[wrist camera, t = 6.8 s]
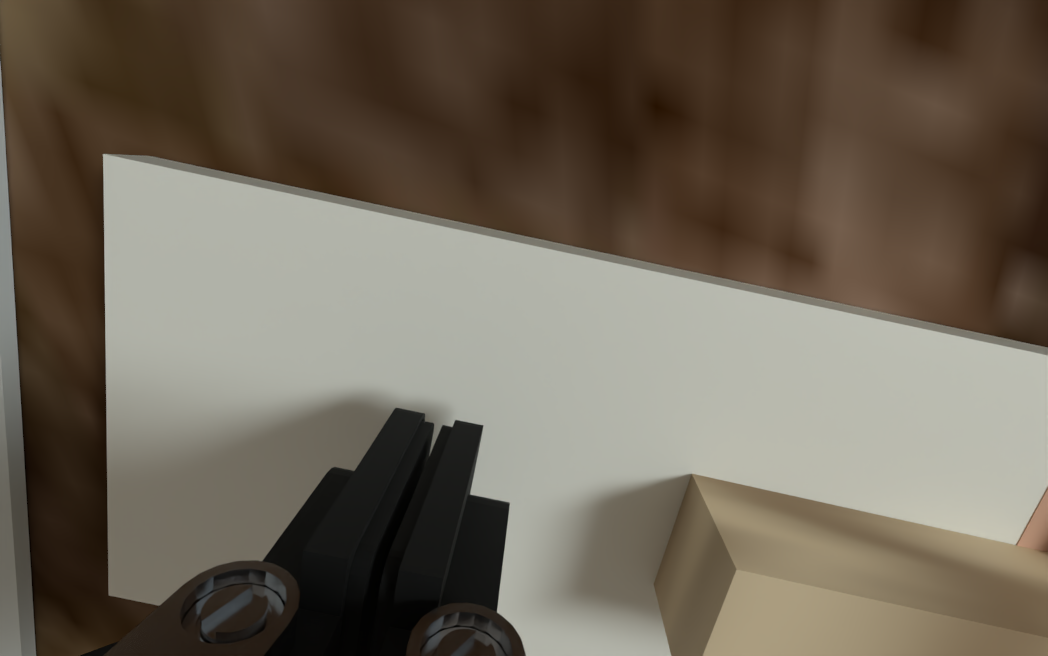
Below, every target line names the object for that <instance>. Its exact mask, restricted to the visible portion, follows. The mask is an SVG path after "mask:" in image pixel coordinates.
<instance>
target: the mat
mask: <svg viewBox="0 0 1048 656" xmlns="http://www.w3.org/2000/svg"><path fill="white" fill-rule="evenodd" d="M0 656H36V645H35V629H34V612H33V595H32V579H31V562H30V545H29V529H28V512H27V496H26V479H25V462H24V446H23V429H22V412H21V396H20V379H19V363H18V346H17V329H16V313H15V296H14V279H13V263H12V246H11V230H10V213H9V196H8V180H7V163H6V146H5V130H4V113H3V97H2V80H1V63H0Z"/></svg>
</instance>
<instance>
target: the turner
mask: <svg viewBox="0 0 1048 656" xmlns="http://www.w3.org/2000/svg"><path fill="white" fill-rule="evenodd" d="M654 588H655V592H656V596H657V600H658V604H659V608H660V612H661V616H662V620H663V624H664V628H665V632H666V636H667V640H668V644H669V649H670V653H671V656H1048V552H1044V551H1040V550H1035V549H1031V548H1026V547H1022V546H1017V545H1013V544H1008V543H1004V542H999V541H994V540H990V539H985V538H981V537H976V536H972V535H967V534H963V533H958V532H954V531H949V530H945V529H940V528H936V527H931V526H927V525H922V524H918V523H913V522H909V521H904V520H900V519H895V518H891V517H886V516H882V515H877V514H873V513H868V512H863V511H859V510H854V509H850V508H845V507H841V506H836V505H832V504H827V503H823V502H818V501H814V500H809V499H805V498H800V497H796V496H791V495H787V494H782V493H778V492H773V491H769V490H764V489H760V488H755V487H751V486H746V485H741V484H737V483H732V482H728V481H723V480H719V479H714V478H710V477H705V476H701V475H696V474H691V477H690V480H689V483H688V486H687V489H686V492H685V495H684V498H683V500H682V503H681V506H680V509H679V512H678V515H677V518H676V521H675V524H674V526H673V529H672V532H671V535H670V538H669V541H668V544H667V547H666V550H665V553H664V555H663V558H662V561H661V564H660V567H659V570H658V573H657V576H656V579H655V582H654Z"/></svg>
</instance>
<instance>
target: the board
mask: <svg viewBox="0 0 1048 656" xmlns="http://www.w3.org/2000/svg"><path fill="white" fill-rule="evenodd" d="M103 175H104V258H105V342H106V425H107V509H108V592H109V596H114V597H119V598H124V599H129V600H134V601H139V602H144V603H148V604H153V605H158V606H160V605H161V604H162V603H163V602H164V601H165V600H167V599H168V598H169V597H170V596H171V595H172V594H173V593H174V592H176V591H177V590H178V589H179V588H180V587H181V586H182V585H184V584H185V583H186V582H188V581H189V580H191V579H192V578H194V577H195V576H196V575H198V574H199V573H202V572H204V571H206V570H208V569H211V568H213V567H215V566H218V565H222V564H226V563H230V562H235V561H250V560H258V561H263V559H264V558H265V556H266V555H267V554H268V552H269V551H270V550H271V548H272V547H273V546H274V544H275V543H276V541H277V540H278V539H279V537H280V536H281V535H282V533H283V532H284V531H285V529H286V528H287V526H288V525H289V524H290V522H291V521H292V520H293V518H294V517H295V516H296V514H297V513H298V511H299V510H300V509H301V507H302V506H303V505H304V503H305V502H306V501H307V499H308V498H309V496H310V495H311V494H312V492H313V491H314V490H315V488H316V487H317V485H318V484H319V483H320V481H321V480H322V479H323V477H324V476H325V475H326V473H327V472H328V471H329V470H330V469H331V468H332V467H338V468H343V469H348V470H353V471H355V469H356V468H357V466H358V465H359V463H360V462H361V460H362V458H363V457H364V455H365V454H366V452H367V451H368V449H369V448H370V446H371V445H372V443H373V441H374V440H375V438H376V437H377V435H378V434H379V432H380V431H381V429H382V428H383V426H384V424H385V423H386V421H387V420H388V418H389V417H390V415H391V414H392V412H393V410H394V409H395V408H401V409H406V410H411V411H416V412H420V413H425V421H426V422H431V423H434V431H433V437H432V443H431V449H430V453H431V451H432V449H433V446H434V444H435V441H436V439H437V437H438V434H439V432H440V430H441V427H442V425H446V426H451V427H453V424H454V422H455V420H459V421H464V422H469V423H474V424H479V425H484V426H483V432H482V437H481V442H480V447H479V452H478V457H477V462H476V467H475V472H474V477H473V482H472V487H471V492H470V495H475V496H480V497H485V498H490V499H495V500H500V501H505V502H509V503H510V506H509V516H508V524H507V532H506V540H505V549H504V557H503V565H502V574H501V582H500V590H499V599H498V607H497V613H499V614H500V615H501V616H503V617H504V618H505V619H506V620H507V621H508V622H510V623H511V624H512V625H513V627H514V628H515V630H516V631H517V633H518V634H519V636H520V637H521V640H522V643H523V647H524V650H525V654H526V656H671V653H670V649H669V644H668V640H667V636H666V632H665V628H664V624H663V620H662V616H661V612H660V608H659V604H658V600H657V596H656V592H655V588H654V582H655V579H656V576H657V573H658V570H659V567H660V564H661V561H662V558H663V555H664V553H665V550H666V547H667V544H668V541H669V538H670V535H671V532H672V529H673V526H674V524H675V521H676V518H677V515H678V512H679V509H680V506H681V503H682V500H683V498H684V495H685V492H686V489H687V486H688V483H689V480H690V477H691V474H696V475H701V476H705V477H710V478H714V479H719V480H723V481H728V482H732V483H737V484H741V485H746V486H751V487H755V488H760V489H764V490H769V491H773V492H778V493H782V494H787V495H791V496H796V497H800V498H805V499H809V500H814V501H818V502H823V503H827V504H832V505H836V506H841V507H845V508H850V509H854V510H859V511H863V512H868V513H873V514H877V515H882V516H886V517H891V518H895V519H900V520H904V521H909V522H913V523H918V524H922V525H927V526H931V527H936V528H940V529H945V530H949V531H954V532H958V533H963V534H967V535H972V536H976V537H981V538H985V539H990V540H994V541H999V542H1004V543H1008V544H1013V545H1017V546H1022V547H1026V548H1031V549H1035V550H1040V551H1044V552H1048V348H1047V347H1042V346H1038V345H1033V344H1028V343H1023V342H1019V341H1014V340H1009V339H1005V338H1000V337H995V336H991V335H986V334H981V333H977V332H972V331H967V330H963V329H958V328H953V327H949V326H944V325H939V324H934V323H930V322H925V321H920V320H916V319H911V318H906V317H902V316H897V315H892V314H888V313H883V312H878V311H874V310H869V309H864V308H860V307H855V306H850V305H845V304H841V303H836V302H831V301H827V300H822V299H817V298H813V297H808V296H803V295H799V294H794V293H789V292H785V291H780V290H775V289H770V288H766V287H761V286H756V285H752V284H747V283H742V282H738V281H733V280H728V279H724V278H719V277H714V276H710V275H705V274H700V273H696V272H691V271H686V270H681V269H677V268H672V267H667V266H663V265H658V264H653V263H649V262H644V261H639V260H635V259H630V258H625V257H621V256H616V255H611V254H607V253H602V252H597V251H592V250H588V249H583V248H578V247H574V246H569V245H564V244H560V243H555V242H550V241H546V240H541V239H536V238H532V237H527V236H522V235H517V234H513V233H508V232H503V231H499V230H494V229H489V228H485V227H480V226H475V225H471V224H466V223H461V222H457V221H452V220H447V219H443V218H438V217H433V216H428V215H424V214H419V213H414V212H410V211H405V210H400V209H396V208H391V207H386V206H382V205H377V204H372V203H368V202H363V201H358V200H354V199H349V198H344V197H339V196H335V195H330V194H325V193H321V192H316V191H311V190H307V189H302V188H297V187H293V186H288V185H283V184H279V183H274V182H269V181H265V180H260V179H255V178H250V177H246V176H241V175H236V174H232V173H227V172H222V171H218V170H213V169H208V168H204V167H199V166H194V165H190V164H185V163H180V162H175V161H171V160H166V159H161V158H157V157H152V156H138V155H116V154H103ZM429 456H430V455H429Z"/></svg>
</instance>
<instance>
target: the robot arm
mask: <svg viewBox="0 0 1048 656" xmlns="http://www.w3.org/2000/svg"><path fill="white" fill-rule="evenodd" d="M483 426H484V425H479V424H474V423H469V422H464V421H459V420H455V422H454V424H453V427H451V426H446V425H442V427H441V430H440V432H439V434H438V437H437V439H436V441H435V444H434V446H433V449H432V451H431V453H430V449H431V443H432V437H433V431H434V423H431V422H426V421H425V413H420V412H416V411H411V410H406V409H401V408H395V409H394V410H393V412H392V414H391V415H390V417H389V418H388V420H387V421H386V423H385V424H384V426H383V428H382V429H381V431H380V432H379V434H378V435H377V437H376V438H375V440H374V441H373V443H372V445H371V446H370V448H369V449H368V451H367V452H366V454H365V455H364V457H363V458H362V460H361V462H360V463H359V465H358V466H357V468H356V469H355V471H353V470H348V469H343V468H338V467H332V468H331V469H330V470H329V471H328V472H327V473H326V475H325V476H324V477H323V479H322V480H321V481H320V483H319V484H318V485H317V487H316V488H315V490H314V491H313V492H312V494H311V495H310V496H309V498H308V499H307V501H306V502H305V503H304V505H303V506H302V507H301V509H300V510H299V511H298V513H297V514H296V516H295V517H294V518H293V520H292V521H291V522H290V524H289V525H288V526H287V528H286V529H285V531H284V532H283V533H282V535H281V536H280V537H279V539H278V540H277V541H276V543H275V544H274V546H273V547H272V548H271V550H270V551H269V552H268V554H267V555H266V556H265V558H264V559H263V561H258V560H250V561H235V562H230V563H226V564H222V565H218V566H215V567H213V568H211V569H208V570H206V571H204V572H202V573H199V574H198V575H196V576H195V577H194V578H192V579H191V580H189V581H188V582H186V583H185V584H184V585H182V586H181V587H180V588H179V589H178V590H177V591H176V592H174V593H173V594H172V595H171V596H170V597H169V598H168V599H167V600H165V601H164V602H163V603H162V604H161V605H160V606H159V607H157V608H156V609H155V610H154V611H153V612H152V613H151V614H150V615H148V616H147V617H146V618H145V619H144V620H143V621H142V622H141V623H139V624H138V625H137V626H136V627H135V628H134V629H133V630H132V631H130V632H129V633H128V634H127V635H126V636H125V637H124V638H123V639H121V640H120V641H119V642H116V643H113V644H110V645H108V646H105V647H102V648H99V649H97V650H94V651H91V652H89V653H86V654H83V655H80V656H526V654H525V650H524V647H523V643H522V640H521V637H520V636H519V634H518V633H517V631H516V630H515V628H514V627H513V625H512V624H511V623H510V622H508V621H507V620H506V619H505V618H504V617H503V616H501V615H500V614H499V613H497V607H498V599H499V590H500V582H501V574H502V565H503V557H504V549H505V540H506V532H507V524H508V516H509V506H510V503H509V502H505V501H500V500H495V499H490V498H485V497H480V496H475V495H470V492H471V487H472V482H473V477H474V472H475V467H476V462H477V457H478V452H479V447H480V442H481V437H482V432H483ZM429 455H430V456H429Z"/></svg>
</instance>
